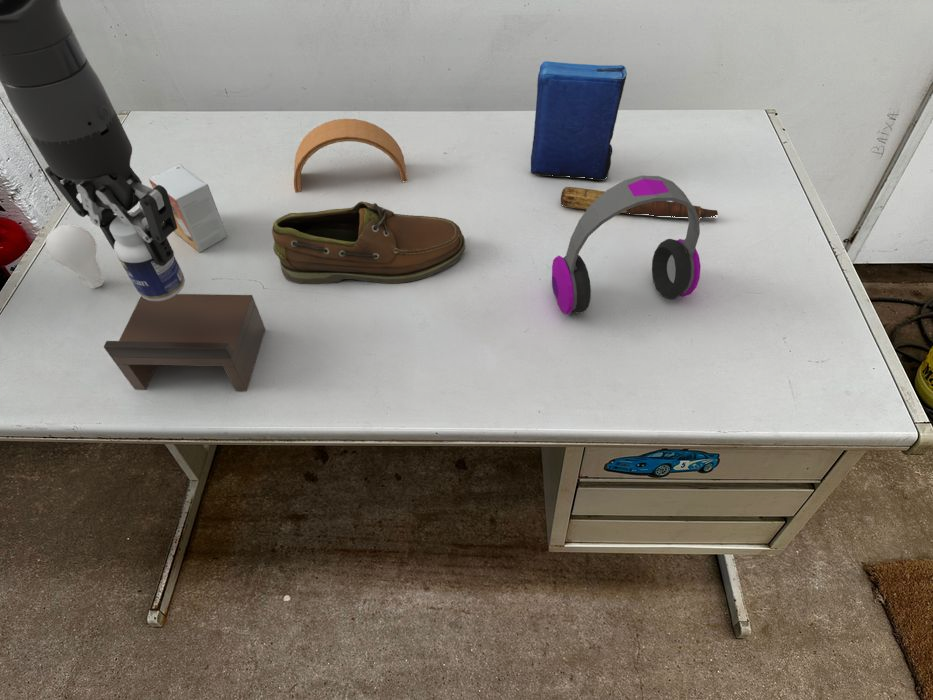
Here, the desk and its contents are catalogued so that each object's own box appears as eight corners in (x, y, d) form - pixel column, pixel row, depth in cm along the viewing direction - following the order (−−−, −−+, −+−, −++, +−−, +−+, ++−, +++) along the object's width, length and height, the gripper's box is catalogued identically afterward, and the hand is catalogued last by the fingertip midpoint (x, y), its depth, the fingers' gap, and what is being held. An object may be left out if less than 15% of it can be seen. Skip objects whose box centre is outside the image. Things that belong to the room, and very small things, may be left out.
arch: (296, 173, 111) (283, 122, 103) (405, 164, 113) (400, 114, 105) (295, 192, 108) (281, 141, 100) (407, 182, 109) (403, 132, 102)
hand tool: (560, 197, 106) (563, 182, 104) (714, 217, 103) (720, 201, 101) (558, 210, 104) (561, 195, 102) (715, 230, 101) (722, 214, 99)
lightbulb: (94, 268, 95) (58, 211, 87) (127, 276, 94) (93, 220, 86) (67, 295, 92) (26, 238, 83) (101, 304, 91) (63, 247, 82)
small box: (172, 231, 101) (146, 178, 93) (202, 216, 103) (179, 162, 95) (199, 254, 97) (174, 200, 89) (229, 237, 100) (208, 183, 92)
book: (608, 168, 112) (630, 60, 96) (608, 186, 109) (631, 77, 93) (530, 162, 113) (540, 54, 98) (528, 179, 110) (538, 70, 94)
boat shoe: (472, 273, 95) (472, 222, 87) (282, 302, 91) (265, 252, 83) (458, 230, 101) (457, 179, 93) (280, 255, 97) (264, 205, 90)
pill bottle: (129, 295, 72) (90, 231, 65) (160, 266, 76) (126, 202, 68) (165, 308, 71) (130, 244, 64) (195, 278, 74) (165, 214, 67)
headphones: (559, 328, 87) (579, 218, 72) (543, 286, 93) (558, 174, 77) (694, 308, 90) (742, 197, 74) (670, 267, 95) (710, 156, 80)
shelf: (162, 327, 88) (135, 282, 81) (265, 328, 87) (248, 284, 80) (134, 389, 81) (103, 346, 74) (246, 391, 81) (226, 348, 74)
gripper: (-22, 119, 56) (71, 257, 69) (99, 155, 52) (173, 293, 65) (43, 81, 60) (119, 218, 73) (159, 112, 56) (217, 250, 70)
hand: (144, 253), depth 69 cm, fingers closed on pill bottle, 5 cm apart
